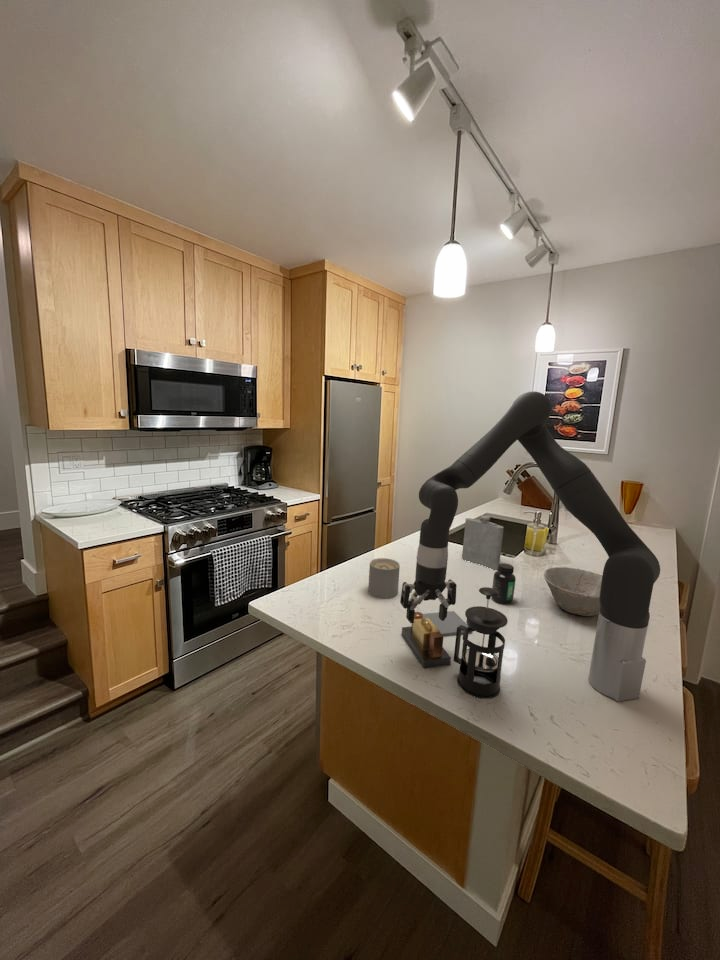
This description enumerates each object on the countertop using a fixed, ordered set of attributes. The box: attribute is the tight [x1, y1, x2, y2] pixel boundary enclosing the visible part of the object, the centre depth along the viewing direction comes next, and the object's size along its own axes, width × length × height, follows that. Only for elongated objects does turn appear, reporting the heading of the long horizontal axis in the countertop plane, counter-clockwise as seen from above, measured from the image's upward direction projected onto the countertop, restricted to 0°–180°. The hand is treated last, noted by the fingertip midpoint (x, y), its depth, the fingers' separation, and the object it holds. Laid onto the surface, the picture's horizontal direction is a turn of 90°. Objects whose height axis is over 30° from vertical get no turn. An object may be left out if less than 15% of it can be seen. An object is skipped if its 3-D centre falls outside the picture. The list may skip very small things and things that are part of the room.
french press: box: [453, 586, 508, 699], centre depth 91 cm, size 12×9×23 cm
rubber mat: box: [422, 610, 474, 637], centre depth 118 cm, size 11×11×1 cm
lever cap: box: [412, 618, 440, 650], centre depth 104 cm, size 7×4×6 cm, turn 15°
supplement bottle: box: [490, 562, 517, 606], centre depth 134 cm, size 7×7×12 cm
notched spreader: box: [461, 515, 504, 571], centre depth 164 cm, size 16×4×20 cm, turn 47°
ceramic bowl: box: [543, 566, 603, 617], centre depth 130 cm, size 22×23×10 cm
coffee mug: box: [367, 557, 401, 600], centre depth 137 cm, size 13×10×10 cm
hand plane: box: [401, 611, 452, 669], centre depth 105 cm, size 15×7×8 cm, turn 15°
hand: (426, 620), depth 104 cm, fingers open, 8 cm apart
